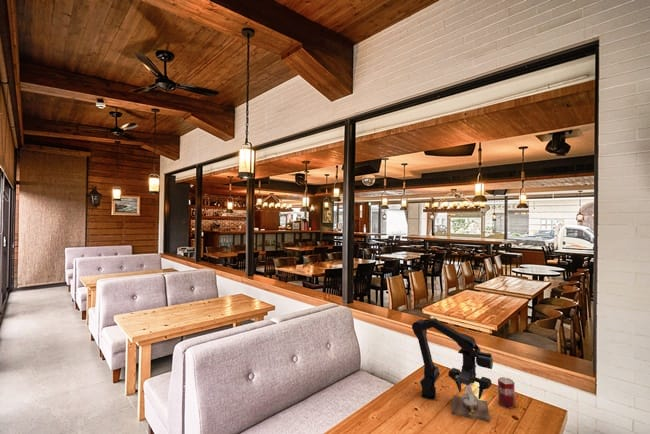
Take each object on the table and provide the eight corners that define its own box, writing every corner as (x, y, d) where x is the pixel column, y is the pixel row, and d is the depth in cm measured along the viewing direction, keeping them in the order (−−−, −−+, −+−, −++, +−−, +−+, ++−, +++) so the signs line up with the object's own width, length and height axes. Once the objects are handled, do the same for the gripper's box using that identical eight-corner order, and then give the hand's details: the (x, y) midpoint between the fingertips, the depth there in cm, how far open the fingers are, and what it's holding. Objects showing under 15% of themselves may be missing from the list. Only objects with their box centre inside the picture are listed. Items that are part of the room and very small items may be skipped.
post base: (452, 414, 153) (452, 410, 153) (452, 397, 167) (452, 394, 167) (489, 421, 147) (489, 418, 147) (487, 404, 161) (487, 400, 161)
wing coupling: (460, 398, 163) (460, 383, 163) (475, 400, 161) (475, 384, 161) (464, 412, 151) (464, 395, 151) (480, 414, 150) (480, 397, 150)
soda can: (517, 409, 156) (516, 384, 156) (501, 407, 157) (500, 383, 157) (511, 401, 163) (511, 377, 163) (496, 399, 164) (495, 376, 165)
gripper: (443, 363, 157) (444, 395, 157) (484, 375, 145) (484, 410, 145) (452, 356, 166) (453, 386, 165) (491, 366, 153) (492, 399, 153)
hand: (469, 395), depth 157 cm, fingers open, 9 cm apart
